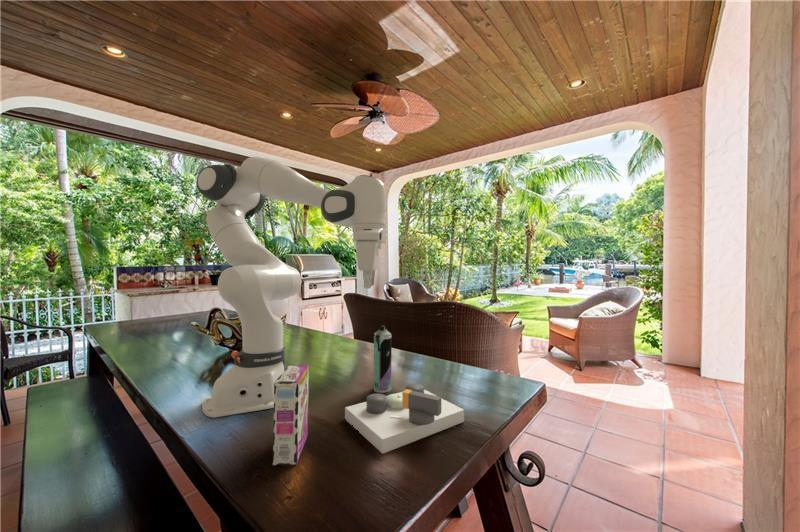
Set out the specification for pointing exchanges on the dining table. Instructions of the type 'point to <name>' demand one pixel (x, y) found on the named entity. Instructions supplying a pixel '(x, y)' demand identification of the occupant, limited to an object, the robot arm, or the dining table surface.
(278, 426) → the candy bar box
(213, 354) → the dining table surface
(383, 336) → the spray can
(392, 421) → the base
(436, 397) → the wing knob
